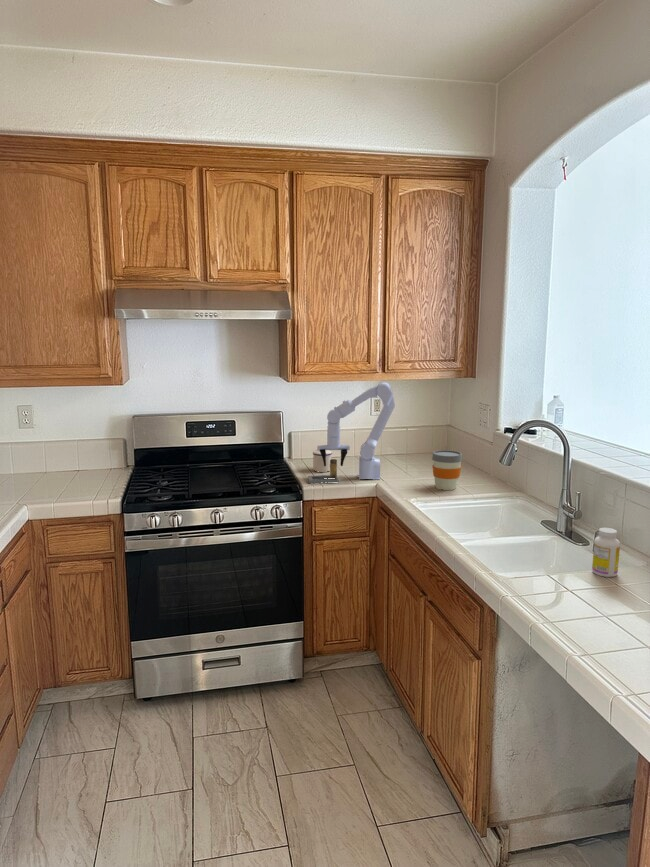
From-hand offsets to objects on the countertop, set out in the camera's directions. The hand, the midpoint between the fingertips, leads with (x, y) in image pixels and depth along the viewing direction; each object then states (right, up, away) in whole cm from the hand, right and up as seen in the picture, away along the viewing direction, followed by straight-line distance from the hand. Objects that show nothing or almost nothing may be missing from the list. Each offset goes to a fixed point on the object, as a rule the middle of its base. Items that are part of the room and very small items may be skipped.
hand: (333, 465), depth 279 cm
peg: (0, -5, +1) cm, 5 cm away
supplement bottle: (+76, -25, -104) cm, 131 cm away
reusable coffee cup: (+48, -9, -15) cm, 51 cm away
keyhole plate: (-5, -7, -6) cm, 10 cm away
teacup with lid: (-5, -3, +14) cm, 16 cm away
